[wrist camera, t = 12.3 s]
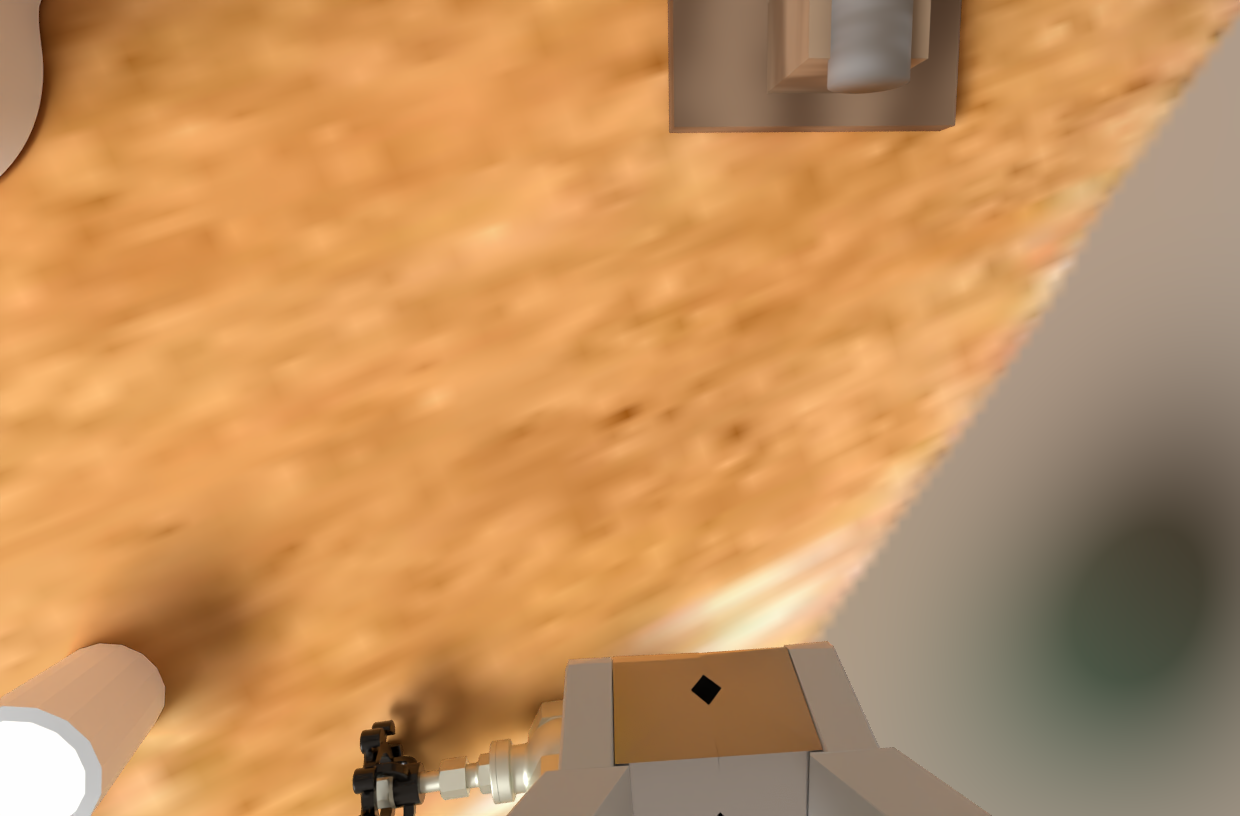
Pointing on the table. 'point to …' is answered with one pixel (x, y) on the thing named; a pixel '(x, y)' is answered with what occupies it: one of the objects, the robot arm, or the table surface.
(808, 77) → the valve stand
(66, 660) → the white cylinder
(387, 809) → the valve
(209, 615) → the table surface
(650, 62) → the table surface
